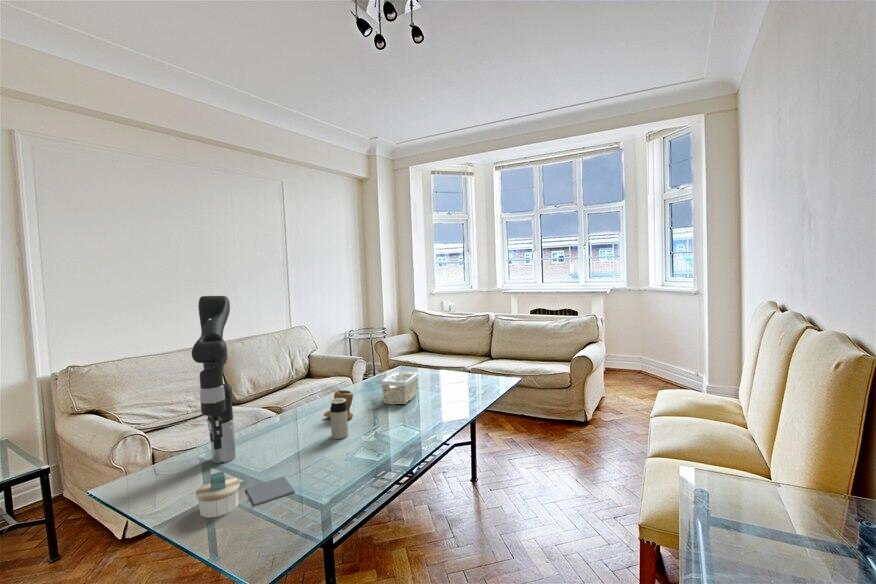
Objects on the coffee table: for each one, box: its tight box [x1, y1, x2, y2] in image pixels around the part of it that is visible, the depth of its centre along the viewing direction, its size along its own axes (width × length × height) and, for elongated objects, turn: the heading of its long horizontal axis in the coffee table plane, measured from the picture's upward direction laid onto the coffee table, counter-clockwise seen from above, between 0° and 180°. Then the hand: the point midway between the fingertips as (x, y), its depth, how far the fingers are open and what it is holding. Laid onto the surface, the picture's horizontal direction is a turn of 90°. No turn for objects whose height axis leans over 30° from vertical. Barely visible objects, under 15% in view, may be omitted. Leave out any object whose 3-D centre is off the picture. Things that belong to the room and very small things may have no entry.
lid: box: [195, 470, 241, 501], centre depth 147 cm, size 14×14×6 cm
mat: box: [245, 476, 296, 507], centre depth 158 cm, size 14×14×1 cm
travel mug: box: [329, 398, 349, 440], centre depth 207 cm, size 8×8×18 cm
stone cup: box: [323, 389, 354, 420], centre depth 234 cm, size 15×12×15 cm
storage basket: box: [381, 371, 419, 405], centre depth 262 cm, size 24×16×15 cm
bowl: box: [198, 489, 240, 519], centre depth 148 cm, size 12×12×6 cm
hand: (215, 444), depth 147 cm, fingers open, 8 cm apart
